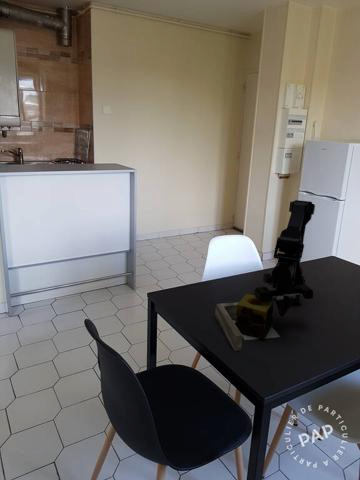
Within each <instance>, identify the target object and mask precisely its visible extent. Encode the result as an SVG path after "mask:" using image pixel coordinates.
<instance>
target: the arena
mask: <svg viewBox="0 0 360 480" xmlns="http://www.w3.org/2000/svg"><path fill="white" fill-rule="evenodd" d="M239 302H240V301H239ZM239 302H227V303H224V302H223V303H215V313H214V316H215V319H216V321H217V322H218V324H219V326H220V328H221V329H222V331H223V333H224V334H225V336H226V338H227V340H228V342H229V343H230V345H231V346H232V348H233V351H242V347H243V346H242V344H243V337H242V334H241V333H240V331H239V330H238V328H237V326H236V325H235V323H234V322H233V321H234V320H233V319H236V313H237V304H238V303H239Z"/></svg>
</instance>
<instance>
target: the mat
mask: <svg viewBox="0 0 360 480" xmlns="http://www.w3.org/2000/svg"><path fill="white" fill-rule="evenodd" d="M235 321H236V320H233V322H234V323H235ZM274 338H281V336H280V335H279V334H278V332H277V331H276V330H275V329H274V327H273V326H272V327H271V328H270V330H269V332H268V334H267V336H266V337H265V338H264V340H265V339H274ZM242 339H243V340H244V341H249V340H250V341H253V340H260V339H259V338H256V337H252V336H248V335H244V334H242Z"/></svg>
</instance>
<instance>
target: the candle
mask: <svg viewBox="0 0 360 480" xmlns="http://www.w3.org/2000/svg"><path fill="white" fill-rule="evenodd" d="M237 303H238V302H237ZM274 304H275V301H274V300H273V299H272V300H271V301H270V302H260V301H259V300H258V299H257V298H256V297H255V296H254V294H249V293H246V294H245V295H244V296H242V298H241V300H239V303H238V304H237V313H236V318H235V320H234V321H235V325H236V326H237V328H238V330H239V331H240V333H241V334H244V335H248V336H252V337H256V338H259V339H258V340H261V341H262V340H263V341H264V340H265V339H266V338H265V337H266V336H267V334H268V332H269V330H270V328H271V327H272V328H273V321H274V315H273V314H274ZM264 338H265V339H264Z"/></svg>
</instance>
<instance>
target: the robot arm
mask: <svg viewBox="0 0 360 480" xmlns="http://www.w3.org/2000/svg"><path fill="white" fill-rule="evenodd" d="M315 209H316V205H315V204H314V203H313V201H310V200H297V199H295V200H293V201H290V202H289V207H288V212H290V216H289V220H288V224H287V226H286V227H285V229H283V230H281V233H280V235H279V236H278V237H277V239H276V244H275V248H274V252H273V257H272V258H274V259H277V263H276V264H275V266H274V267H273V269H272V271H271V273H263V277H262V279H263V280H262V281H263V283H264V284H268V286H271V287H272V288H273V289H274V290H270V289H269V288H268V287H267V286H260V287H256V288H255V289H254V291H253V295H254V296H255V297H256V298H257V299H258V300H259V301H260V302H270V301H271V300H274V303H275V304H276V307H277V311H278V314H279V316H280V317H281V318H283V317H284V316H285V315H286V313H287V312H288V310H289V309H290V308H291V307H292V306H301V305H302V303H301V302H300V297H301V295H302V297H303V298H304V299H305V300H311V299H314V297H315V296H314V295H315V292H314V290H313V289H312V288H311V287H309V285H307V284H306V278H305V275H304V270H303V267H302V265H301V261H302V260H301V259H302V258H303V253H304V249H305V244H304V239H305V233H306V226H307V225H308V223H309V222H310V221H311V220H312V215H314V214H315Z"/></svg>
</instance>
